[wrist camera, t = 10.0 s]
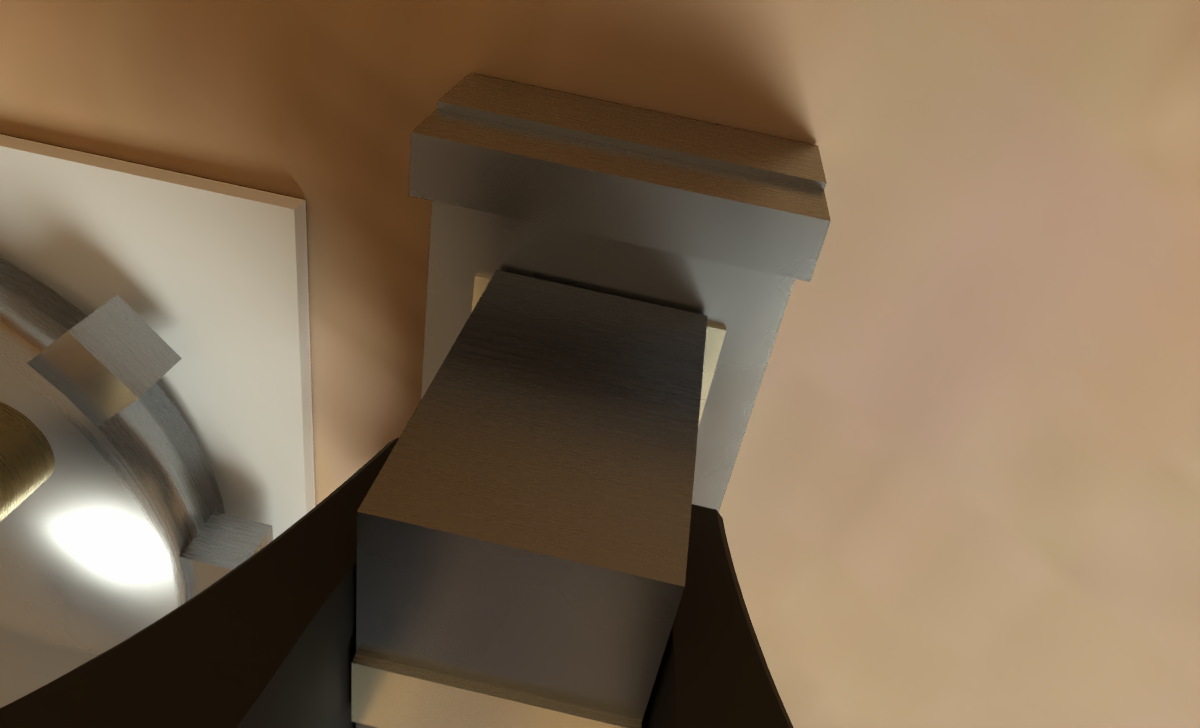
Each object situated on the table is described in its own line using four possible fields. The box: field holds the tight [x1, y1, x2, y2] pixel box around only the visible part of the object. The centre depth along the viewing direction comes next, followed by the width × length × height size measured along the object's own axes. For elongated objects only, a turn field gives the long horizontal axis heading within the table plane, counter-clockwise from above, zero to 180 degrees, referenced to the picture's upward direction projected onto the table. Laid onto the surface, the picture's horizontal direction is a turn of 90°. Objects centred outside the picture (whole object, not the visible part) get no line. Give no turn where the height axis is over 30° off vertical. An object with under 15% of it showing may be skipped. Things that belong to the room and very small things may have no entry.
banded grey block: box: [352, 270, 708, 728], centre depth 11 cm, size 5×3×5 cm, turn 171°
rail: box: [409, 73, 830, 512], centre depth 13 cm, size 9×5×2 cm, turn 171°
